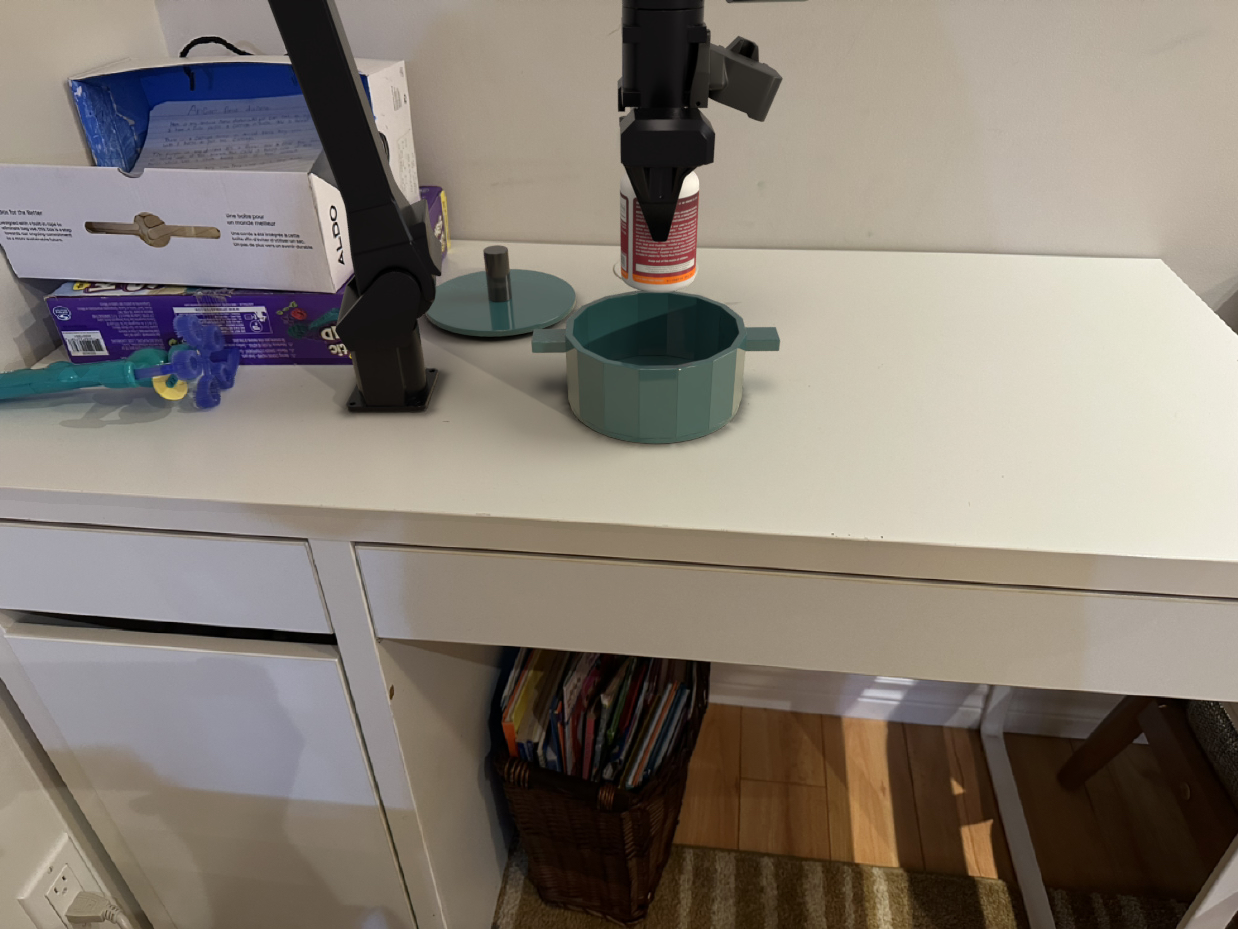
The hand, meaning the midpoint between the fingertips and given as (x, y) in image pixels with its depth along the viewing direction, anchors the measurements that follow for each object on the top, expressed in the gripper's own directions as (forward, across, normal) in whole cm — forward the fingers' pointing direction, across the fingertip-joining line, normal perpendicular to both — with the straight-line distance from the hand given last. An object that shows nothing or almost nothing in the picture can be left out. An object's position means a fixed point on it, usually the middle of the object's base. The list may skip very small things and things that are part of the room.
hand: (657, 226), depth 67 cm
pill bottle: (+5, 0, 0) cm, 5 cm away
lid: (+12, +13, +15) cm, 23 cm away
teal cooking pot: (+13, -5, 0) cm, 14 cm away
